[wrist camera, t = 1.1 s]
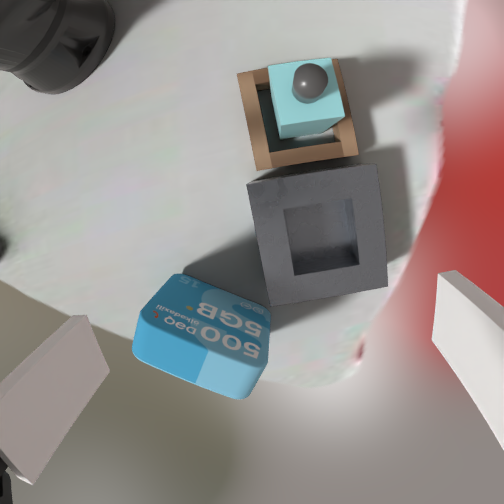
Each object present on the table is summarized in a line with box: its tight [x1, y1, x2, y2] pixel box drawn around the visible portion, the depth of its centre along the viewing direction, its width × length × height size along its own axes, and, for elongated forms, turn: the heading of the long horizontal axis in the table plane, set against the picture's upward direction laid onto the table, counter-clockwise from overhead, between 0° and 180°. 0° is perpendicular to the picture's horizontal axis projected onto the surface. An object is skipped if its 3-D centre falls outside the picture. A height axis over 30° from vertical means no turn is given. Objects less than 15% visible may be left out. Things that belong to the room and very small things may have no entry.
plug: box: [268, 58, 345, 140], centre depth 23 cm, size 4×4×15 cm
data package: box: [132, 274, 271, 399], centre depth 31 cm, size 12×4×12 cm, turn 68°
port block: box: [246, 164, 388, 307], centre depth 31 cm, size 12×12×5 cm
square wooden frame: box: [237, 59, 359, 171], centre depth 29 cm, size 10×10×3 cm
